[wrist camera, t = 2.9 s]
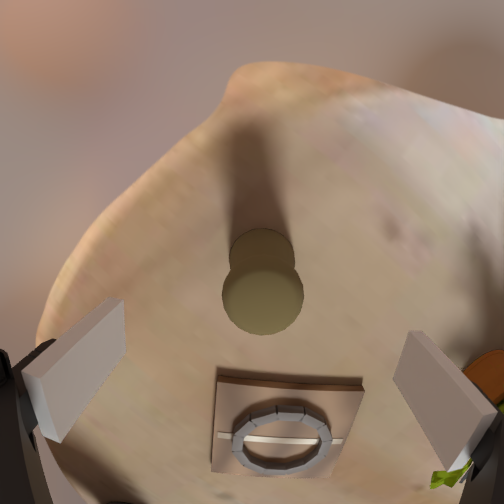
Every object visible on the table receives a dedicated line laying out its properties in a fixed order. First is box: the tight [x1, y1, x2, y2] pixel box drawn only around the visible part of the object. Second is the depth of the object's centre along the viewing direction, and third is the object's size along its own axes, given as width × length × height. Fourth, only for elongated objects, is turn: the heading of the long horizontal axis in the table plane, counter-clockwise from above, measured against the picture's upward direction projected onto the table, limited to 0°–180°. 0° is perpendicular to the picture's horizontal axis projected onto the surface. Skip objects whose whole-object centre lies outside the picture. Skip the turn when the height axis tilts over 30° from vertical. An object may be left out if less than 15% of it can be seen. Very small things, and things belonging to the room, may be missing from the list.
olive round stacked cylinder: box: [222, 228, 304, 335], centre depth 24 cm, size 6×6×11 cm
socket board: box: [211, 376, 365, 478], centre depth 32 cm, size 16×16×2 cm
